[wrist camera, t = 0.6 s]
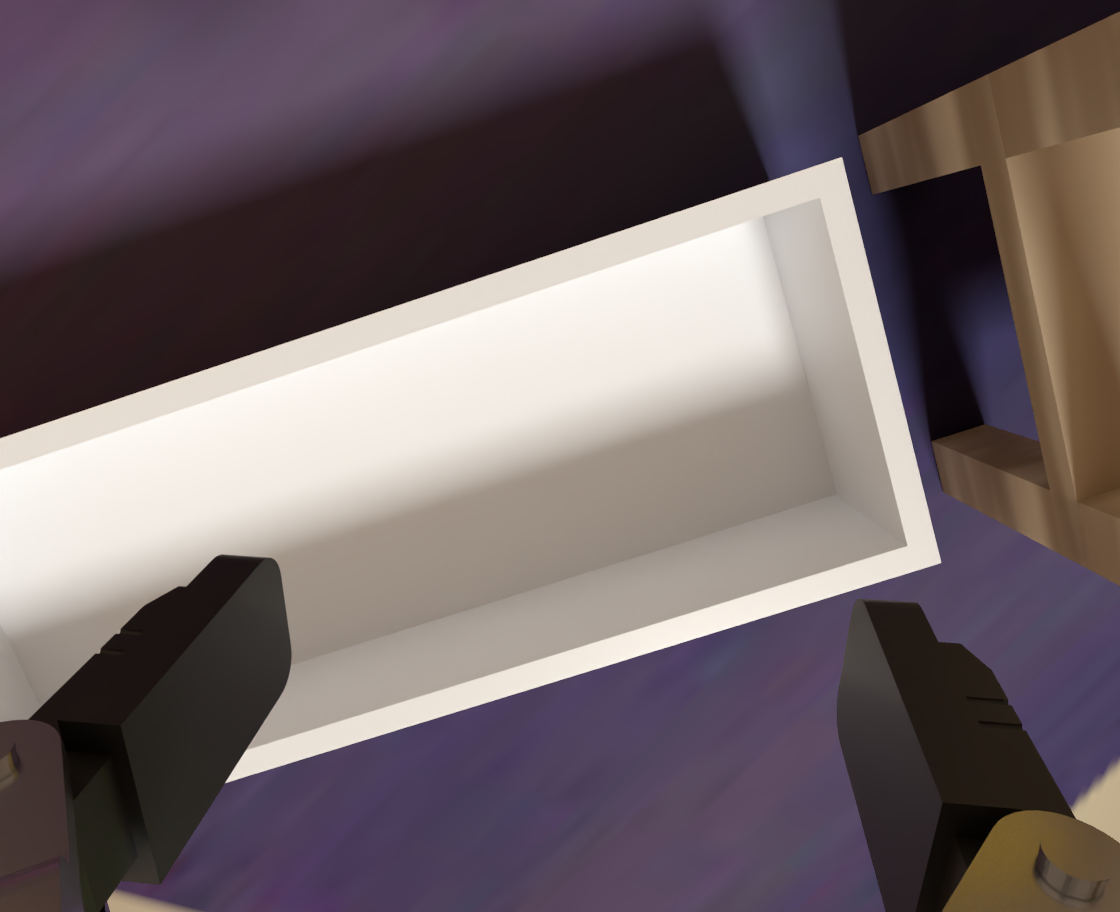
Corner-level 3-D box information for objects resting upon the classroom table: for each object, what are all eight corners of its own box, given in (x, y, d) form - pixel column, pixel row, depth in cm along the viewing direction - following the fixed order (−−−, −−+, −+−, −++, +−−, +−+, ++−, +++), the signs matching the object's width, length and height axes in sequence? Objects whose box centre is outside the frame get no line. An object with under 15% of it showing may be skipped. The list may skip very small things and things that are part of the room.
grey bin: (61, 748, 33) (-69, 873, 26) (-76, 470, 30) (-259, 524, 23) (854, 500, 31) (941, 562, 24) (772, 187, 29) (842, 157, 22)
